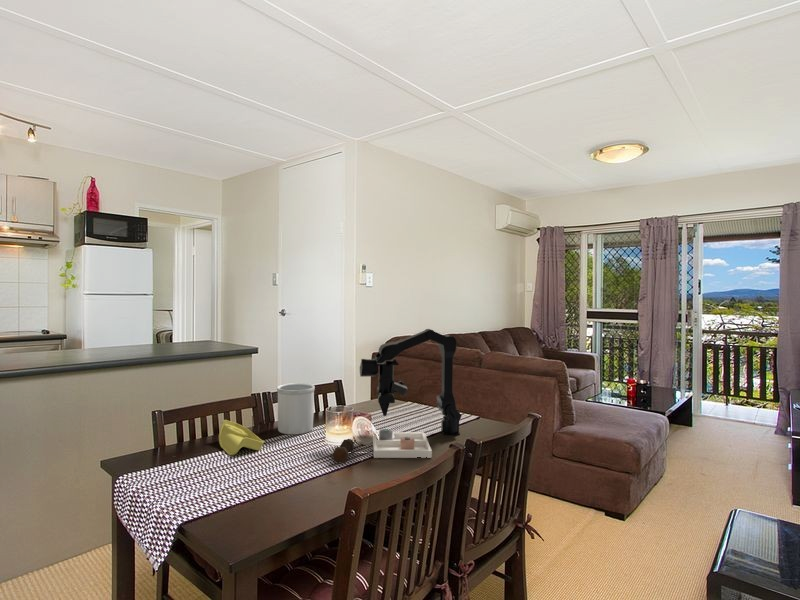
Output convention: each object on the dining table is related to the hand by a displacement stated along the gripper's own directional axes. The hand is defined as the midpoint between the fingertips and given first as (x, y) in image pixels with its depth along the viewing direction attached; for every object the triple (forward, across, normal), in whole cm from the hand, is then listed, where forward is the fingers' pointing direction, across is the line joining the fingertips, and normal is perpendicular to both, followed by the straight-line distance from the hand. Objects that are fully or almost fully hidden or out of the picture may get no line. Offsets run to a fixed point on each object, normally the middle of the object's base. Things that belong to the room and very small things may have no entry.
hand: (384, 415), depth 183 cm
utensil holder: (+8, +7, +36) cm, 37 cm away
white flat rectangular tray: (+8, -9, -5) cm, 13 cm away
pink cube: (+7, -18, -7) cm, 21 cm away
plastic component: (+8, -12, +52) cm, 55 cm away
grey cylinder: (+7, -9, 0) cm, 12 cm away
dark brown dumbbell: (+8, -21, +14) cm, 27 cm away
